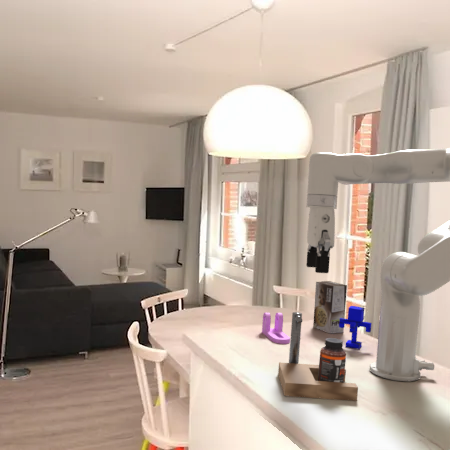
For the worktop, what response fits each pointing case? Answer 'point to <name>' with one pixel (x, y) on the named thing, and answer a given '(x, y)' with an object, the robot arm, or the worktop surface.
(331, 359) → the supplement bottle
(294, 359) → the hook post
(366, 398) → the worktop surface
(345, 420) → the worktop surface
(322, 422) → the worktop surface
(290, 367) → the bay shelf
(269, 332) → the bracket
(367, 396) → the worktop surface
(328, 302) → the coffee box
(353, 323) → the figurine
